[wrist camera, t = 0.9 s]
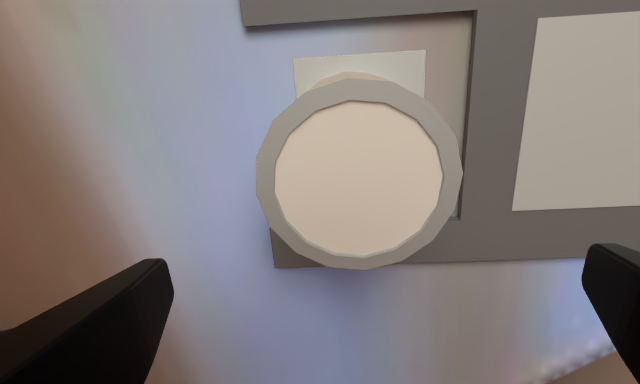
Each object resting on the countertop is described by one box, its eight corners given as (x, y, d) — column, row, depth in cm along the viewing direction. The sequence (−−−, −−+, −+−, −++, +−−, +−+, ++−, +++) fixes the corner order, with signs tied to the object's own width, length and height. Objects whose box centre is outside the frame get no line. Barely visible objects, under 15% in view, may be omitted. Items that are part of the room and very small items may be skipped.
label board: (789, -82, 16) (810, -87, 15) (679, 246, 22) (690, 254, 21) (237, -38, 17) (233, -40, 16) (276, 261, 23) (274, 269, 22)
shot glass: (443, 80, 18) (500, 113, 12) (393, 208, 21) (418, 292, 15) (299, 37, 18) (279, 48, 12) (266, 174, 21) (236, 245, 14)
